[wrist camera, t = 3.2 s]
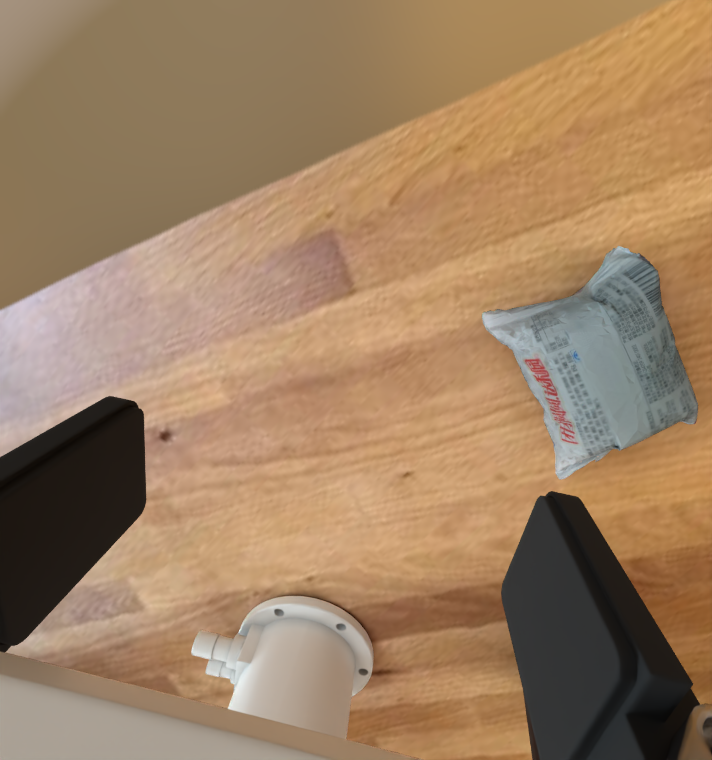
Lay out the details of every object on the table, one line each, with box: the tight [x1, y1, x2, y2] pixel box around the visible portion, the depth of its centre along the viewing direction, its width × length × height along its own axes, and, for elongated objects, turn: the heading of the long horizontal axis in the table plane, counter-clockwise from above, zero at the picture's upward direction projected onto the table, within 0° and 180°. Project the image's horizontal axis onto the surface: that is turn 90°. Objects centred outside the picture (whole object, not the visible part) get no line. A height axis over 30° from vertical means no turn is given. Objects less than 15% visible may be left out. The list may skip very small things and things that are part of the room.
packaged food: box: [482, 246, 698, 480], centre depth 24 cm, size 9×12×5 cm
